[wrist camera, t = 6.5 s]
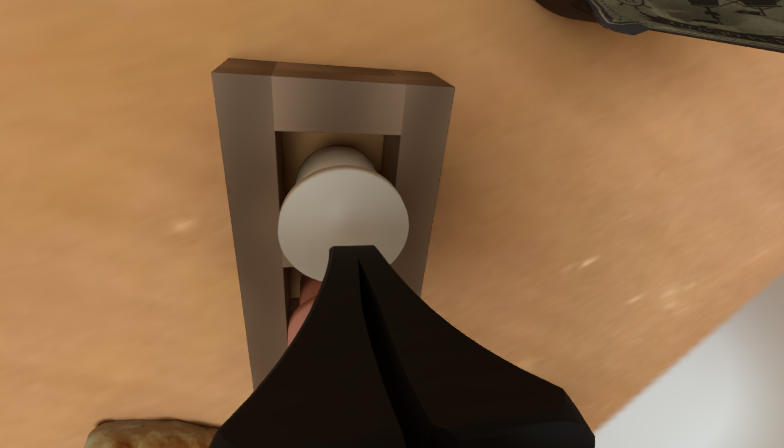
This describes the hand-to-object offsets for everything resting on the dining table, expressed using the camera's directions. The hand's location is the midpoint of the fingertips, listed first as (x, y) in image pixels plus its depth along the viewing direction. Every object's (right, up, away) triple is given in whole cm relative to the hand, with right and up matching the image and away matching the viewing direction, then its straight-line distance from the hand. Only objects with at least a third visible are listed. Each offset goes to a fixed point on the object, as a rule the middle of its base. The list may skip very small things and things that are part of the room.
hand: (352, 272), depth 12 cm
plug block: (-2, -1, +11) cm, 11 cm away
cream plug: (-1, +3, +5) cm, 6 cm away
